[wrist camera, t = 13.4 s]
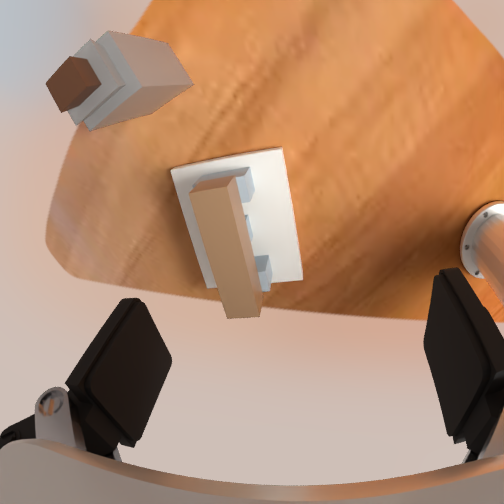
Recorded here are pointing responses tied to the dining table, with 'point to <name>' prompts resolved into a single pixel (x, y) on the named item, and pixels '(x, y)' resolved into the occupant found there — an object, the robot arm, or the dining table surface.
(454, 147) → the dining table surface
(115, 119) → the perfume bottle
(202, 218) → the long tan plank
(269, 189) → the stand
